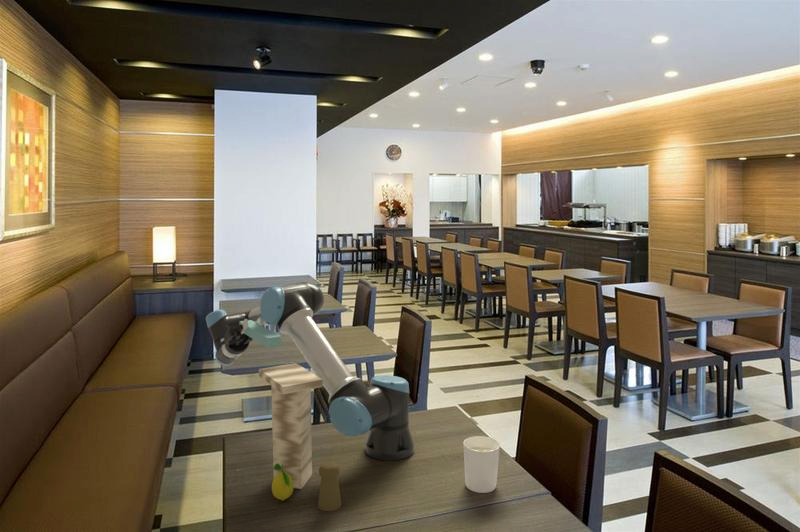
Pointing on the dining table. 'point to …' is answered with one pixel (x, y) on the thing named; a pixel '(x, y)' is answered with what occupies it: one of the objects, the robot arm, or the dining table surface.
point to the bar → (262, 335)
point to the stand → (292, 419)
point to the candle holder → (481, 463)
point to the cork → (329, 487)
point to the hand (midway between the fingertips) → (254, 322)
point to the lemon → (282, 484)
